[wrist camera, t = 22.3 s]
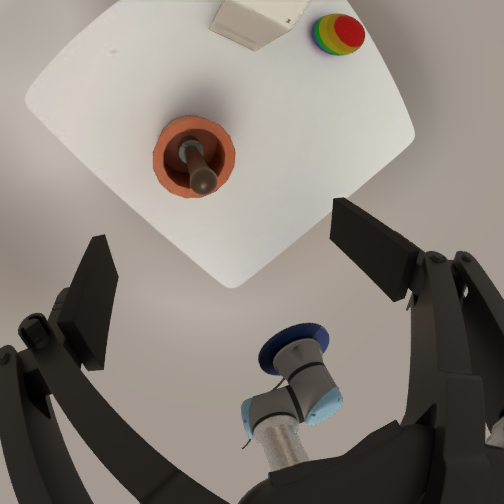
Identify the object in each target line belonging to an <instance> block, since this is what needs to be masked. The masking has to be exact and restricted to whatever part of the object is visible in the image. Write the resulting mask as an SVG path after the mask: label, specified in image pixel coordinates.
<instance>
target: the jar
mask: <svg viewBox="0 0 504 504" xmlns="http://www.w3.org/2000/svg"><path fill="white" fill-rule="evenodd" d="M185 136H194V137H196V138H197V139H198V140H199V142H200V143H201V144H202V146H203V148H204V154H203V159H204V160H205V162H206V163H207V165H208V167H209V168H210V169H211V170H212V171H214V173H215V174H216V176H217V180H218V182H217V186H216V188H215V190H214V191H213V192H216V191H217V190H218V189H219V188H220V187H221V186H222V185H223V184H224V183H225V182H226V181H227V180H228V178H229V176H230V174H231V172H232V170H233V168H234V163H235V149H234V146H233V143H232V140H231V137H230V136H229V135H228V133H227V132H226V131H225V130H224V129H223V128H222V127H221V126H220V125H218V124H216V123H214V122H212V121H209V120H207V119H204V118H201V117H198V116H183V117H180V118H178V119H176V120H173V121H171V122H170V123H169V124H168V125H167V126H166V127H165V128H164V129H163V131H162V133H161V135H160V137H159V139H158V142H157V144H156V146H155V149H154V151H153V169H154V172H155V174H156V176H157V178H158V181H159V182H160V184H162V185H163V186H164V187H165V188H166V189H167V190H168V191H169V192H170V193H172V194H175V195H178V196H181V197H184V198H201V197H204V196H206V195H199V194H197V193H195V192H194V191H193V190H192V188H191V186H190V174H189V170H188V166H187V164H186V163H184V162H183V161H182V160H181V159H180V157H179V153H178V143H179V141H180V140H181V139H182V138H183V137H185ZM213 192H212V193H213ZM210 194H211V193H210ZM208 195H209V194H208Z"/></svg>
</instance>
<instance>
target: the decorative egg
mask: <svg viewBox="0 0 504 504" xmlns="http://www.w3.org/2000/svg"><path fill="white" fill-rule="evenodd" d="M312 36H313V40H314V42H315V43H316V45H317V46H318V47H319V48H320V49H321V50H323V51H324V52H326V53H329V54H332V55H347V54H350V53H353V52H354V51H356V50H357V49H359V48H360V47H361V45H362V44H363V42H364V39H365V31H364V28H363V26H362V25H361V24H360V23H359V22H358V21H357V20H356V19H354V18H352V17H350V16H348V15H344V14H330V15H327V16H324V17H322V18H321V19H319V20H318V21H317V22H316V23H315V25H314V27H313V30H312Z"/></svg>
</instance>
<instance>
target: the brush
mask: <svg viewBox="0 0 504 504" xmlns="http://www.w3.org/2000/svg"><path fill="white" fill-rule="evenodd" d="M178 153H179V157H180V159H181V160H182V161H183V162H184V163H186V164H187V166H188V170H189V174H190V186H191V188H192V190H193V191H194V192H195V193H197V194H199V195H208V194H210V193H212V192H213V191H214V190H215V188H216V186H217V182H218V180H217V176H216V174H215V173H214V171H212V170H211V169H210V168H209V167H208V165H207V163H206V162H205V160H204V159H203V154H204V148H203V146H202V144H201V143H200V142H199V140H198V139H197V138H196V137H194V136H185V137H183V138H182V139H181V140H180V141H179V143H178Z"/></svg>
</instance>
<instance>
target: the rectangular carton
mask: <svg viewBox="0 0 504 504" xmlns="http://www.w3.org/2000/svg"><path fill="white" fill-rule="evenodd" d="M310 1H311V0H223V2H222V4H221V6H220V8H219V10H218V12H217V14H216V16H215V18H214V20H213V22H212V24H211V26H210V28H209V29H210V30H211V31H214V32H216V33H218V34H221V35H223V36H225V37H227V38H229V39H231V40H234V41H236V42H238V43H240V44H242V45H244V46H246V47H248V48H250V49H252V50H254V51H257V50H258V49H260V48H261V47H263V46H265V45H266V44H268V43H270V42H271V41H273V40H275V39H276V38H278V37H280V36H282V35H283V34H285V33H287V32H289V31H291V29H292V28H293V26H294V25H295V23H296V22H297V20H298V19H299V17H300V16H301V14H302V13H303V11H304V10H305V8H306V7H307V5H308V4H309V2H310Z"/></svg>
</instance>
